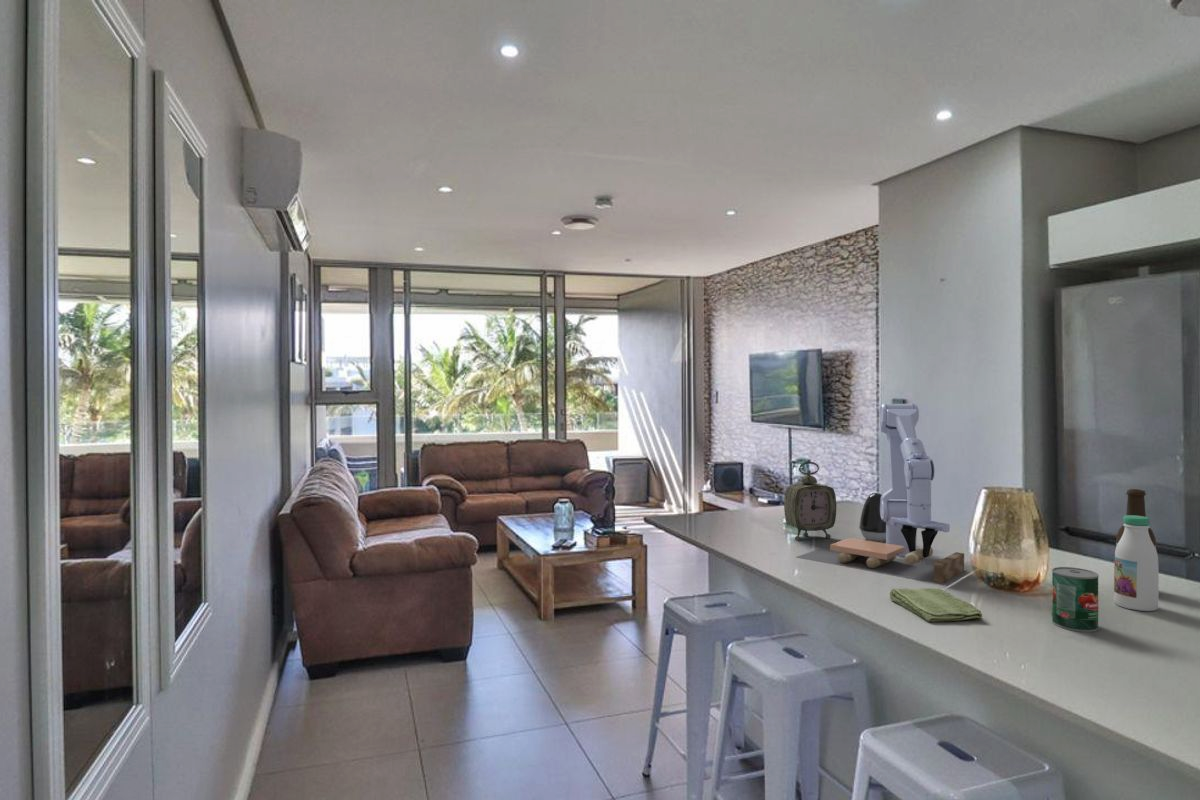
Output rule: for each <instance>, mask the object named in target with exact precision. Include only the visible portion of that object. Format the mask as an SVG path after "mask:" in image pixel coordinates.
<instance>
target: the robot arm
mask: <svg viewBox="0 0 1200 800" xmlns="http://www.w3.org/2000/svg"><path fill="white" fill-rule="evenodd" d="M919 412H920V411H919V407H918V405H917V404H916V403H915V402H913V403H882V404H881V405H880V407H879V413H878V414H879V415H878V416H879V428H880V432H881V433H884V434H885V435H886V439H887V452H888V453H887V455H888V473H889V475H888V476H889V489H888V490H887V491H885V492H884V493H883V494H882V496H881V503H880V516H881V519H882V520H883V521H885V522H886V541H885V543H887V544H893V545H899V546H905V552H904V553H901V554H899V555H898V556H900V557H905V555H907V554H908V553H911V552H913V551H915V550H917V549H918V545H917V543H918V542H917V540H918V539H917V537H918V534H917V533H918V529H921V531H920V532H921V538H922V547H923V557H927V558H929V557H930V556H929V552H930V548H932V544H933V543H934V540H935V538H936V537H937V535H938V532H943V533H950V531H951V530H950V528H951V527H950V523H946V522H945V523H944V522H940V521H933V520H932V481H934V478H935V473H936V472H935V470H936V469H935V463H934V461H933V458H931V457H930V456H929V455H928V456H927V453H926V449H925V446H924V444H923V441H922V440H921V439H918V438H917V433H916V426H917V424H918V422H919V418H920V413H919ZM928 556H929V557H928Z"/></svg>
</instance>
